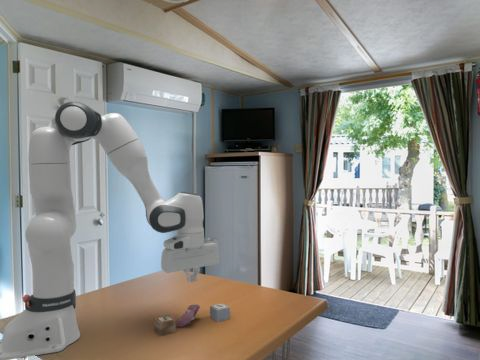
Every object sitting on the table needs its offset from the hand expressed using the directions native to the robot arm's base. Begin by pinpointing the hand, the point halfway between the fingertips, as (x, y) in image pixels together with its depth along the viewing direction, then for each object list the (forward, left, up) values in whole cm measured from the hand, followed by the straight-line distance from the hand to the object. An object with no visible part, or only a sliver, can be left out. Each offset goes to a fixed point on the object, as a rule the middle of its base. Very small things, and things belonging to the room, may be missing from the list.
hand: (192, 281), depth 124 cm
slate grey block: (+10, -2, -14) cm, 17 cm away
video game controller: (-1, +1, -14) cm, 14 cm away
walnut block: (-10, -2, -14) cm, 18 cm away
